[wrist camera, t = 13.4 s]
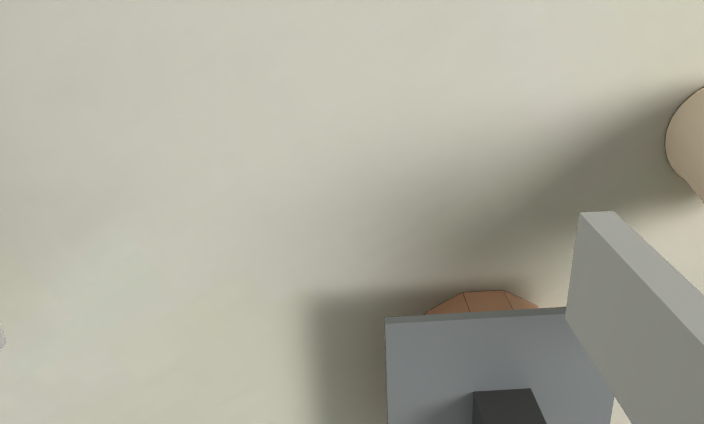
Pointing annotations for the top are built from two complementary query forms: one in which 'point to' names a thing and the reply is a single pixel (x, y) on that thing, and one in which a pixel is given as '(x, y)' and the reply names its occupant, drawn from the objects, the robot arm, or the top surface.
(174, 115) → the top surface
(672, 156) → the water bottle
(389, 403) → the cover sheet
